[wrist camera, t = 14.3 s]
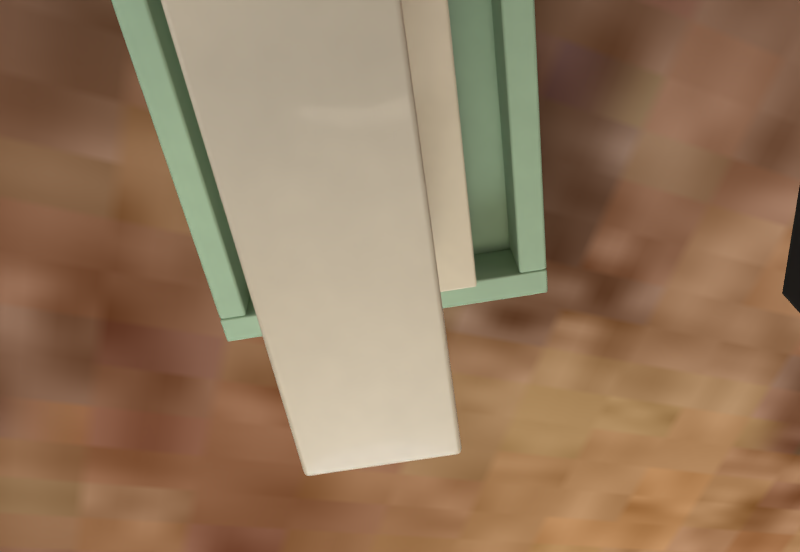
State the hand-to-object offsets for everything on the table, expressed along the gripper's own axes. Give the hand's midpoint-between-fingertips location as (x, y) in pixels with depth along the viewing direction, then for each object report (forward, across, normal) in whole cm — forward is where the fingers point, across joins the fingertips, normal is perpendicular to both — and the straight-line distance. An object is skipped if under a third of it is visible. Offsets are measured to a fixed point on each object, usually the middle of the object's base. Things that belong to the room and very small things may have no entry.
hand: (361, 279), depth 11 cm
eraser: (+10, 0, 0) cm, 10 cm away
